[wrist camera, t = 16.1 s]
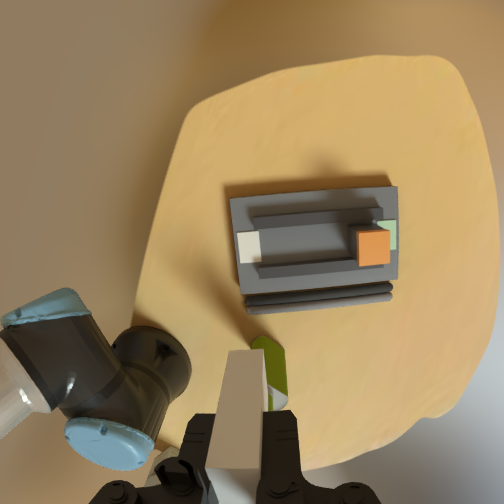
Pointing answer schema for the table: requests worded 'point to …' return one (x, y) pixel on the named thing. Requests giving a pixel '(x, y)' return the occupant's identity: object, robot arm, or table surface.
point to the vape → (274, 372)
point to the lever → (369, 244)
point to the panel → (310, 237)
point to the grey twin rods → (318, 299)
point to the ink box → (169, 452)
